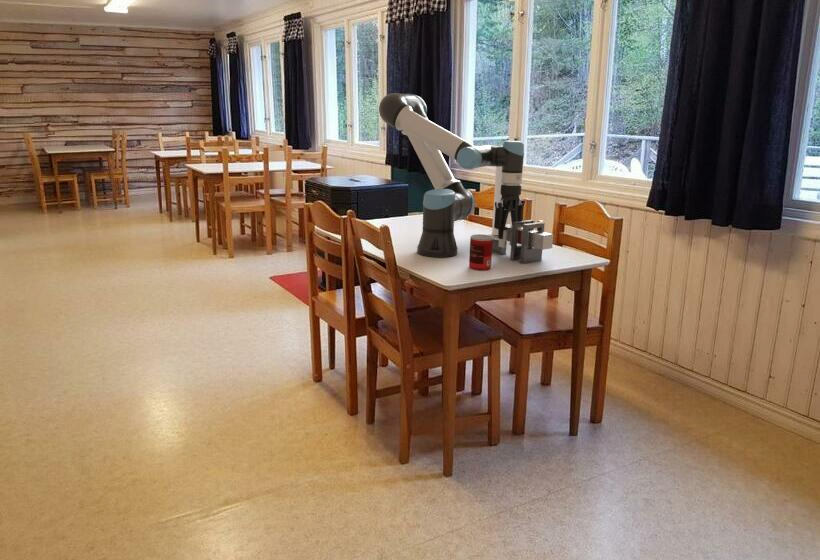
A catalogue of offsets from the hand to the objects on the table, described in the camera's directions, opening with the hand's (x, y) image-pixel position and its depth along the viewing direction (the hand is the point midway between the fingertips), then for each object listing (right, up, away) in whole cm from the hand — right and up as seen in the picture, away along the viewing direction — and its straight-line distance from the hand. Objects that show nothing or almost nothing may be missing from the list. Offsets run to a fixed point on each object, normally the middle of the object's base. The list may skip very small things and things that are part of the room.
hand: (507, 246), depth 232 cm
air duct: (+5, +1, -7) cm, 9 cm away
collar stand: (+7, -5, -6) cm, 11 cm away
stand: (-4, -2, +6) cm, 8 cm away
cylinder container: (+4, +7, +38) cm, 39 cm away
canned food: (-12, -9, -19) cm, 24 cm away
